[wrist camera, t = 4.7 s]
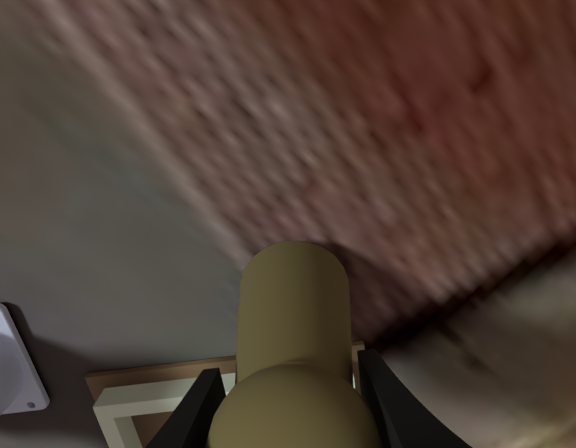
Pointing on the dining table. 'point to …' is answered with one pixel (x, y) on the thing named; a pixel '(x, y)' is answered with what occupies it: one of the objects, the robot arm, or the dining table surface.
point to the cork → (294, 357)
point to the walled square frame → (141, 406)
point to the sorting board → (174, 371)
